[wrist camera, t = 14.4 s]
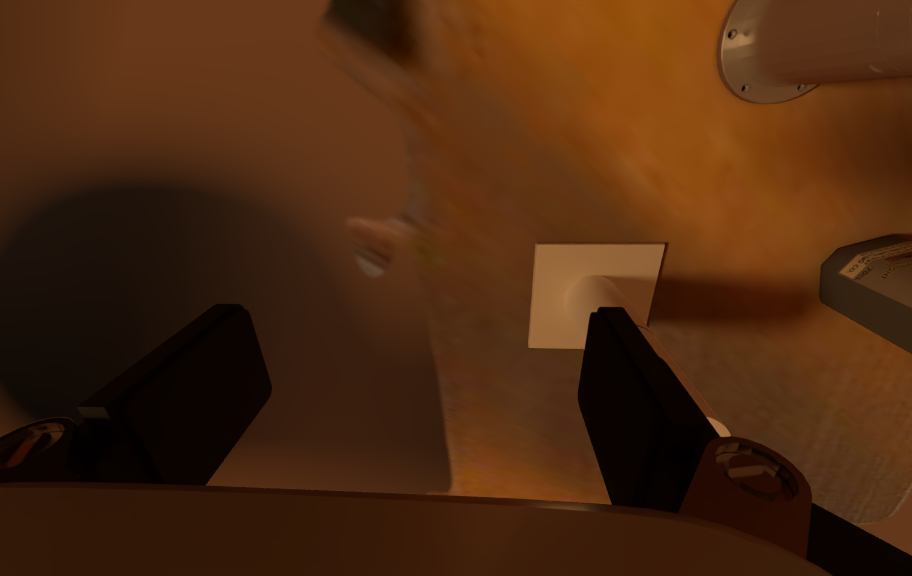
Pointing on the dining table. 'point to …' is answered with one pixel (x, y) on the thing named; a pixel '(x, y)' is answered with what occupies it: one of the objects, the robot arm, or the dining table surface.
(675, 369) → the cylindrical container
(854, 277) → the liquor
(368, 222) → the dining table surface
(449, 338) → the dining table surface
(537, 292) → the mat
